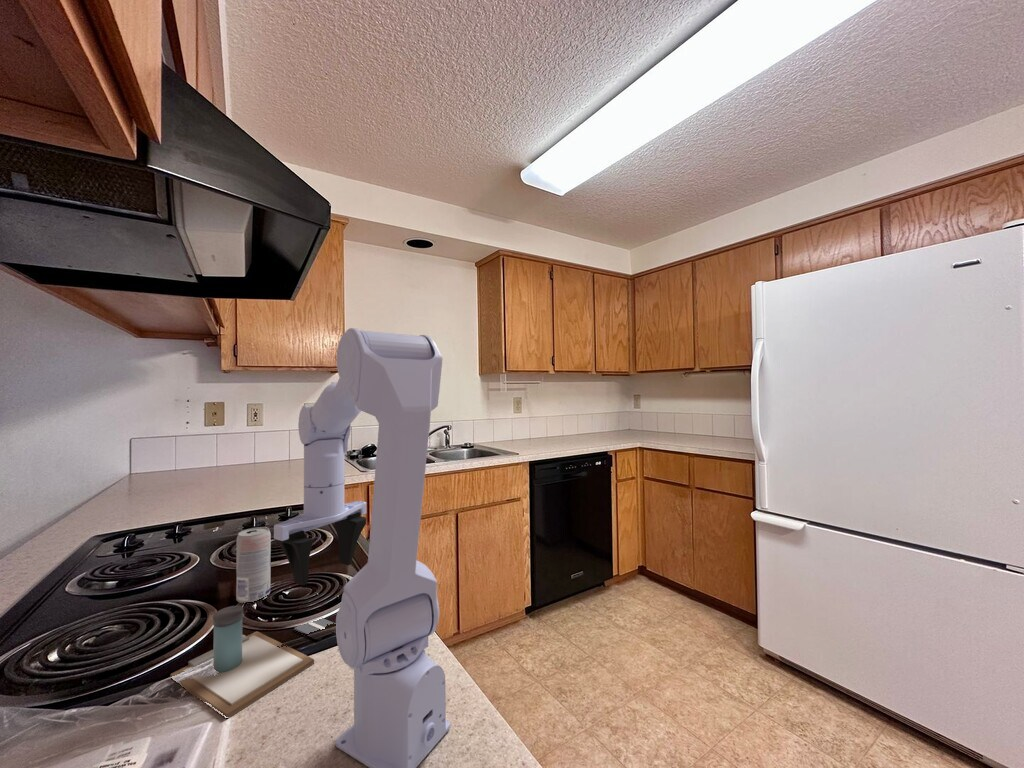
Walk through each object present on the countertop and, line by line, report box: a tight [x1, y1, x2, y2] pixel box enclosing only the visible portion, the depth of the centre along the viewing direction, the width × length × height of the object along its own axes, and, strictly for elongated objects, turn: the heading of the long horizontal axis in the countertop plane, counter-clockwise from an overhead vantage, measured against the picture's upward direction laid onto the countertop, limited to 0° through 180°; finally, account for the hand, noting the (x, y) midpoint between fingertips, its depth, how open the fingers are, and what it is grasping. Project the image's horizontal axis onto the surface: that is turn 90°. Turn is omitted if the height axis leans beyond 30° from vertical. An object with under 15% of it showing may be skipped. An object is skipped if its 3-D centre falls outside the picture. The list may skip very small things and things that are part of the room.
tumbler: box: [212, 605, 244, 673], centre depth 55 cm, size 3×3×7 cm
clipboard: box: [170, 631, 315, 718], centre depth 55 cm, size 14×11×1 cm
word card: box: [293, 617, 336, 634], centre depth 65 cm, size 6×4×1 cm, turn 61°
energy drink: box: [235, 526, 272, 604], centre depth 75 cm, size 5×5×12 cm
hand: (324, 572), depth 62 cm, fingers open, 7 cm apart
